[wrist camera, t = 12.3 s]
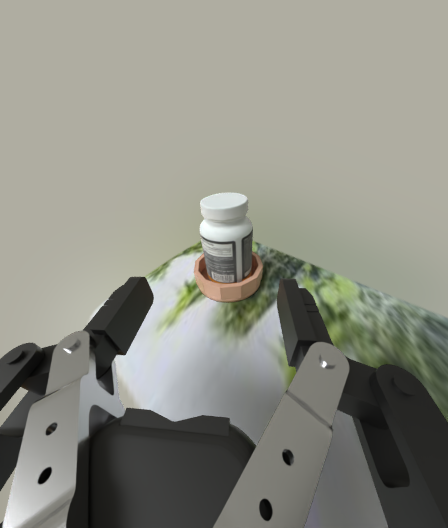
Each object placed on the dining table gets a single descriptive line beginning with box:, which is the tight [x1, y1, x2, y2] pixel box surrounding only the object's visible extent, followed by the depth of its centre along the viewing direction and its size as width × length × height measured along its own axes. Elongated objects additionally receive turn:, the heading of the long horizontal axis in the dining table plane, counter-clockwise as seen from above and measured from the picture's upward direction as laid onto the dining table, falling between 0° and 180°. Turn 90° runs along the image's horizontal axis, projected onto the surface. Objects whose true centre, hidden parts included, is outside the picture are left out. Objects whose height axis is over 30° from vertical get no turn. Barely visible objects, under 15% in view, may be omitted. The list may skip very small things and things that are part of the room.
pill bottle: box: [200, 193, 253, 284], centre depth 20 cm, size 6×6×10 cm
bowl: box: [194, 251, 263, 302], centre depth 23 cm, size 8×8×2 cm
